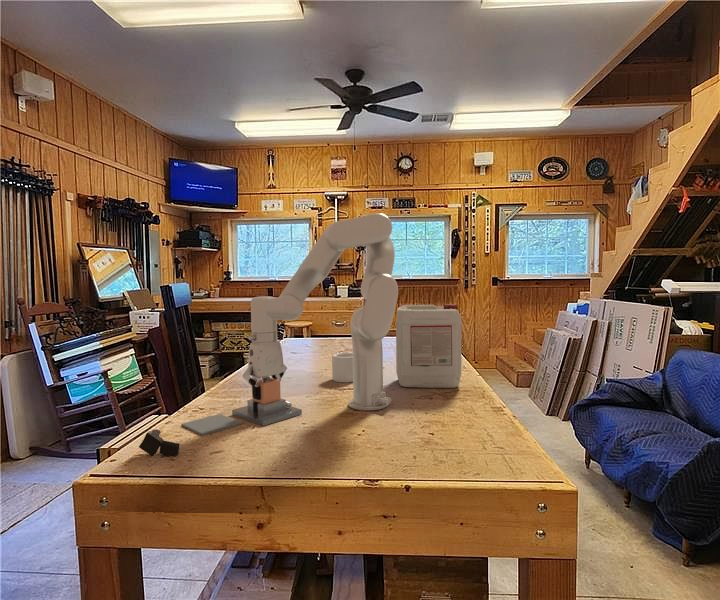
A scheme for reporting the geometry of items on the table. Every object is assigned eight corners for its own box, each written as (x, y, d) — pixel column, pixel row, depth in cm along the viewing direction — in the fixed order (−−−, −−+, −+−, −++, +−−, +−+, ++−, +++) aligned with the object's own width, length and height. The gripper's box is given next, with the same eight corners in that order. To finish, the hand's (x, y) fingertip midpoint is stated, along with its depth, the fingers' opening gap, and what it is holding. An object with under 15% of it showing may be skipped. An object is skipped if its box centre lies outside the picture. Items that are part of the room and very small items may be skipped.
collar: (280, 399, 140) (280, 380, 140) (264, 404, 136) (263, 383, 136) (268, 396, 144) (268, 377, 144) (252, 400, 140) (251, 380, 140)
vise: (301, 414, 140) (300, 376, 139) (263, 426, 130) (261, 385, 129) (270, 404, 151) (269, 369, 150) (232, 414, 141) (230, 377, 140)
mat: (241, 424, 132) (241, 422, 132) (202, 435, 123) (202, 433, 123) (219, 415, 140) (219, 413, 140) (181, 425, 131) (181, 423, 131)
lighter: (173, 463, 112) (184, 444, 111) (168, 467, 110) (179, 448, 109) (143, 443, 113) (154, 424, 112) (138, 447, 110) (149, 427, 110)
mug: (359, 382, 178) (358, 357, 177) (331, 383, 178) (330, 357, 178) (360, 374, 192) (359, 350, 191) (334, 375, 192) (333, 351, 191)
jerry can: (457, 377, 184) (457, 302, 182) (463, 389, 165) (463, 306, 163) (397, 377, 186) (396, 302, 184) (396, 389, 168) (395, 306, 166)
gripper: (246, 342, 130) (248, 405, 131) (295, 335, 143) (296, 393, 144) (232, 339, 135) (234, 400, 136) (280, 333, 148) (281, 389, 149)
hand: (266, 396), depth 140 cm, fingers closed on collar, 6 cm apart
